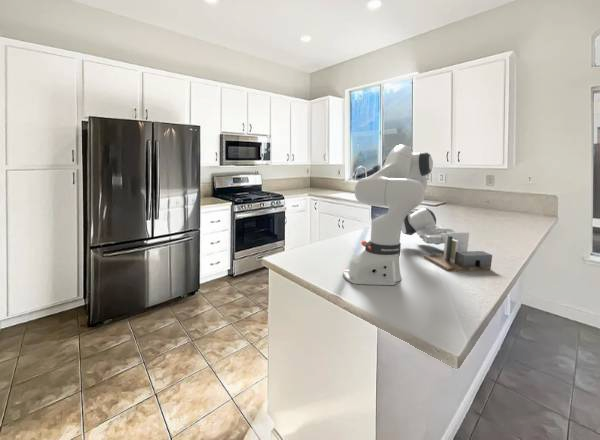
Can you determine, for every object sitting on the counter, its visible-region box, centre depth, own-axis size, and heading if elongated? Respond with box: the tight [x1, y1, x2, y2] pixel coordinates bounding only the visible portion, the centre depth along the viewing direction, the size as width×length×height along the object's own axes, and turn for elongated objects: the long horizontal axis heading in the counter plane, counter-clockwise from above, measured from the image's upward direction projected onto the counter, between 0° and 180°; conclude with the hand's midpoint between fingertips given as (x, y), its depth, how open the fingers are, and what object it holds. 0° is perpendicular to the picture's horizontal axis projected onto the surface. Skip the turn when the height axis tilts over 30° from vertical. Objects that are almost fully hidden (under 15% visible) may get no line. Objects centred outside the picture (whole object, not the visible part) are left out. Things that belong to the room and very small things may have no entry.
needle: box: [445, 236, 453, 262], centre depth 141 cm, size 1×1×12 cm
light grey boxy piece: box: [440, 231, 470, 252], centre depth 143 cm, size 14×12×11 cm
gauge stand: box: [423, 237, 493, 272], centre depth 143 cm, size 20×19×11 cm
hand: (452, 242), depth 152 cm, fingers closed
